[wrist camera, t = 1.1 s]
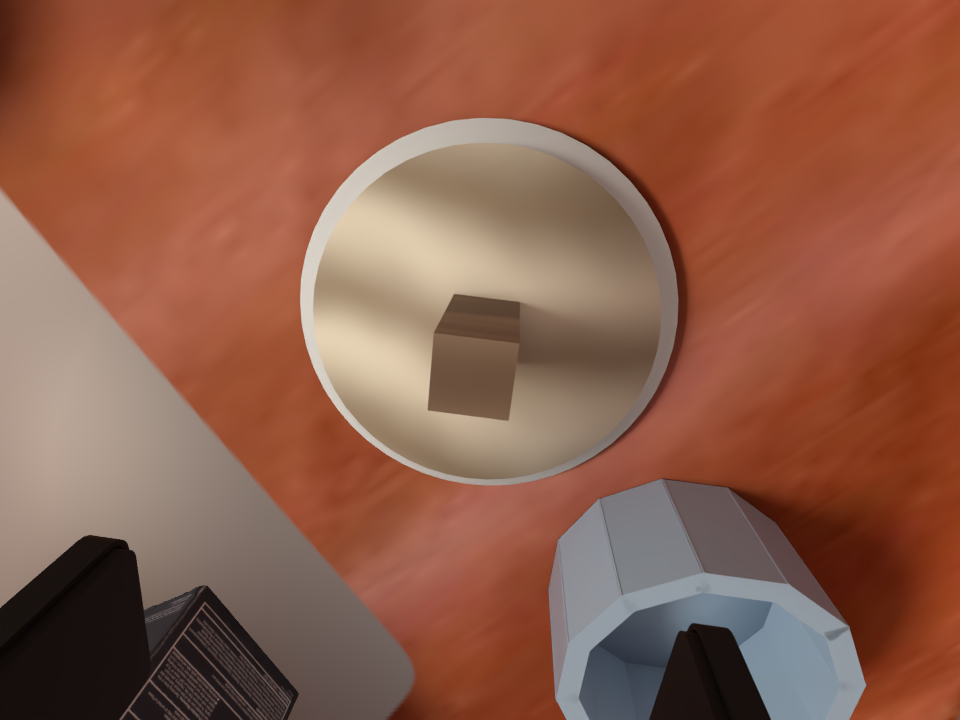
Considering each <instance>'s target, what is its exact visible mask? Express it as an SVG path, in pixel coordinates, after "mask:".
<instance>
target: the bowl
mask: <svg viewBox="0 0 960 720" xmlns="http://www.w3.org/2000/svg"><path fill="white" fill-rule="evenodd" d="M549 603H550V618H551V634H552V650H553V666H554V681H555V697H556V700H557V702H558V704H559V706H560V708H561V710H562V712H563V713H564V715H565V717H566V719H567V720H649V718H650V715H651V712H652V709H653V706H654V703H655V700H656V697H657V694H658V691H659V688H660V685H661V682H662V679H663V676H664V673H665V670H666V667H667V664H668V661H669V658H670V655H671V652H672V648H673V645H674V642H675V639H676V636H677V634H678V632H679V631H687V630H688V628H689V626H690V625H691V624H692V623H697V624H704V625H711V626H718V627H725V628H728V629H729V630H730V631H731V632H732V633H733V635H734V637H735V639H736V641H737V644H738V646H739V648H740V650H741V653H742V655H743V657H744V659H745V662H746V664H747V666H748V668H749V671H750V673H751V675H752V677H753V680H754V682H755V684H756V686H757V689H758V691H759V693H760V695H761V698H762V700H763V702H764V704H765V707H766V709H767V711H768V713H769V716H770V718H771V720H849V719H850V717H851V715H852V713H853V711H854V709H855V707H856V705H857V703H858V700H859V698H860V696H861V694H862V692H863V690H864V688H865V687H866V683H865V681H864V677H863V674H862V670H861V667H860V663H859V660H858V656H857V653H856V649H855V646H854V642H853V639H852V635H851V632H850V627H849V625H848V624H847V623H846V621H845V620H844V618H843V617H842V616H841V614H840V613H839V611H838V610H837V609H836V607H835V606H834V604H833V603H832V601H831V600H830V599H829V597H828V596H827V594H826V593H825V592H824V590H823V589H822V587H821V586H820V585H819V583H818V582H817V580H816V579H815V578H814V576H813V575H812V573H811V572H810V570H809V569H808V568H807V566H806V565H805V563H804V562H803V561H802V559H801V558H800V556H799V555H798V554H797V552H796V551H795V549H794V548H793V546H792V545H791V544H790V542H789V541H788V539H787V538H786V537H785V535H784V534H783V532H782V531H781V530H780V528H779V527H778V525H777V524H776V523H775V522H774V521H772V520H771V519H770V518H768V517H767V516H766V515H764V514H763V513H761V512H760V511H759V510H757V509H756V508H755V507H753V506H752V505H751V504H749V503H748V502H746V501H745V500H744V499H742V498H741V497H740V496H738V495H737V494H735V493H734V492H733V491H731V490H730V489H729V488H727V487H719V486H711V485H704V484H696V483H689V482H681V481H673V480H666V479H660V480H657V481H653V482H650V483H647V484H644V485H641V486H638V487H635V488H632V489H628V490H625V491H622V492H619V493H616V494H613V495H610V496H607V497H603V498H599V499H598V500H597V501H596V502H595V503H594V504H593V505H592V506H591V507H590V508H589V509H588V510H587V511H586V512H585V513H584V514H583V515H582V516H581V517H580V518H579V519H578V520H577V521H576V522H575V523H574V524H573V525H572V526H571V527H570V528H569V529H568V530H567V531H566V533H565V534H564V535H563V536H562V537H561V538H560V539H558V544H557V549H556V554H555V559H554V564H553V569H552V575H551V580H550V585H549Z"/></svg>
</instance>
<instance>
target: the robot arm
mask: <svg viewBox="0 0 960 720" xmlns="http://www.w3.org/2000/svg"><path fill="white" fill-rule="evenodd" d="M150 667H151V659H150V652H149V645H148V638H147V630H146V623H145V616H144V609H143V602H142V595H141V589H140V582H139V574H138V567H137V560H136V555H135V553H134V552H133V551H132V550H129V547H128V544H127V542H126V541H124V540H120V539H113V538H106V537H99V536H93V535H88V536H85V537H83V538H81V539H80V540H78V541H77V542H76V543H75V544H74V545H73V546H71V547H70V548H69V549H68V550H67V551H66V552H64V553H63V554H62V555H61V556H60V557H59V558H57V559H56V561H54V562H53V563H52V564H51V565H49V566H48V567H47V568H46V569H45V570H44V571H42V572H41V573H40V574H39V575H38V576H37V577H36V578H34V579H33V580H32V581H31V582H30V583H29V584H28V585H26V586H25V587H24V588H23V589H22V590H20V591H19V592H18V593H17V594H16V595H15V596H14V597H12V598H11V599H10V600H9V601H8V602H7V603H6V604H4V605H3V606H2V607H1V608H0V720H119V719H120V717H121V716H122V714H123V713H124V712H125V710H126V709H127V707H128V706H129V705H130V703H131V702H132V700H133V699H134V698H135V696H136V695H137V693H138V692H139V691H140V689H141V688H142V686H143V685H144V683H145V681H146V679H147V677H148V674H149V671H150ZM649 720H771V718H770V716H769V713H768V711H767V709H766V707H765V704H764V702H763V700H762V698H761V695H760V693H759V691H758V689H757V686H756V684H755V682H754V680H753V677H752V675H751V673H750V671H749V668H748V666H747V664H746V662H745V659H744V657H743V655H742V653H741V650H740V648H739V646H738V644H737V641H736V639H735V637H734V635H733V633H732V632H731V631H730V630H729V629H728V628H725V627H718V626H711V625H704V624H697V623H692V624H691V625H690V626H689V628H688V630H687V631H679V632H678V634H677V636H676V639H675V642H674V645H673V648H672V652H671V655H670V658H669V661H668V664H667V667H666V670H665V673H664V676H663V679H662V682H661V685H660V688H659V691H658V694H657V697H656V700H655V703H654V706H653V709H652V712H651V715H650V718H649Z"/></svg>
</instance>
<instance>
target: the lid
mask: <svg viewBox="0 0 960 720" xmlns="http://www.w3.org/2000/svg"><path fill="white" fill-rule="evenodd" d="M313 317H314V330H315V335H316V340H317V345H318V350H319V354H320V356H321V359H322V362H323V365H324V368H325V371H326V373H327V375H328V377H329V379H330V381H331V384H332V386H333V388H334V390H335V391H336V393H337V394H338V396H339V397H340V399H341V401H342V402H343V404H344V405H345V407H346V408H347V409H348V410H349V412H350V413H351V414H352V415H353V416H354V418H355V419H356V420H357V421H358V422H359V424H361V425H362V426H363V427H364V428H365V429H366V430H367V431H368V432H369V433H370V434H371V435H372V436H373V437H374V438H376V439H377V440H378V441H380V442H381V443H382V444H384V445H385V446H386V447H388V448H389V449H390V450H392V451H394V452H395V453H397V454H399V455H401V456H402V457H404V458H406V459H407V460H410V461H412V462H414V463H416V464H419V465H421V466H423V467H425V468H428V469H431V470H435V471H438V472H441V473H444V474H448V475H453V476H459V477H464V478H473V479H486V480H488V479H509V478H515V477H522V476H528V475H532V474H535V473H539V472H543V471H546V470H549V469H552V468H554V467H556V466H559V465H561V464H564V463H566V462H568V461H570V460H572V459H574V458H575V457H577V456H579V455H581V454H583V453H584V452H586V451H587V450H589V449H590V448H591V447H593V446H594V445H596V444H597V443H598V442H600V441H601V440H602V439H603V438H604V437H605V436H606V435H608V434H609V433H610V432H611V431H612V430H613V429H614V428H615V427H616V426H617V425H618V424H619V423H620V421H621V420H622V419H623V418H624V417H625V415H626V414H627V413H628V412H629V411H630V409H631V408H632V406H633V405H634V403H635V401H636V400H637V398H638V397H639V395H640V394H641V392H642V390H643V388H644V386H645V383H646V381H647V379H648V377H649V375H650V373H651V370H652V366H653V363H654V360H655V357H656V353H657V349H658V343H659V337H660V331H661V299H660V291H659V283H658V279H657V275H656V271H655V268H654V264H653V260H652V258H651V256H650V253H649V251H648V249H647V246H646V244H645V241H644V239H643V237H642V236H641V234H640V232H639V231H638V229H637V227H636V226H635V224H634V222H633V221H632V219H631V218H630V216H629V215H628V214H627V213H626V211H625V210H624V209H623V208H622V206H621V205H620V204H619V203H618V202H617V200H616V199H615V198H614V197H613V196H612V195H611V194H609V193H608V192H607V191H606V190H605V189H604V188H603V187H602V186H601V185H600V184H599V183H598V182H596V181H595V180H593V179H592V178H591V177H589V176H588V175H586V174H585V173H583V172H582V171H580V170H579V169H578V168H576V167H574V166H572V165H570V164H568V163H566V162H564V161H562V160H560V159H558V158H556V157H554V156H551V155H548V154H545V153H542V152H539V151H536V150H533V149H530V148H525V147H520V146H515V145H509V144H501V143H470V144H460V145H452V146H448V147H444V148H440V149H436V150H432V151H428V152H426V153H423V154H421V155H419V156H416V157H414V158H411V159H409V160H406V161H405V162H403V163H401V164H399V165H398V166H396V167H394V168H392V169H391V170H389V171H387V172H386V173H384V174H383V175H382V176H380V177H379V178H378V179H377V180H375V181H374V182H373V183H372V184H370V185H369V186H368V187H366V189H365V190H364V191H363V192H362V193H361V194H360V195H359V196H358V197H357V198H356V199H355V200H354V201H353V202H352V203H351V204H350V206H349V207H348V208H347V210H346V211H345V213H344V214H343V215H342V217H341V218H340V220H339V221H338V222H337V224H336V226H335V228H334V230H333V232H332V234H331V236H330V237H329V239H328V241H327V243H326V246H325V249H324V252H323V254H322V257H321V260H320V263H319V266H318V271H317V276H316V281H315V286H314V300H313Z"/></svg>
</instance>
